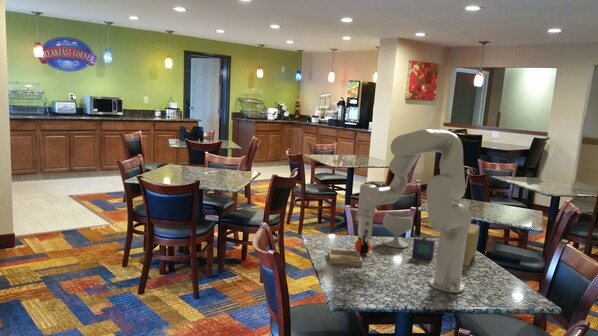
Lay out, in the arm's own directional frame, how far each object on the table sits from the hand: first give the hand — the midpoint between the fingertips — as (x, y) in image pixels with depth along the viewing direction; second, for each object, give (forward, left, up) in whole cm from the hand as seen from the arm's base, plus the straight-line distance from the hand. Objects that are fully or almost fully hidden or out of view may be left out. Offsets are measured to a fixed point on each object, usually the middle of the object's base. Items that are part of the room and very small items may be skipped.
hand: (362, 249), depth 207 cm
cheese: (+3, -48, -2) cm, 48 cm away
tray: (-11, +9, -2) cm, 14 cm away
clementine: (0, 0, -2) cm, 2 cm away
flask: (0, -27, -2) cm, 27 cm away
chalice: (+19, -19, -2) cm, 27 cm away
